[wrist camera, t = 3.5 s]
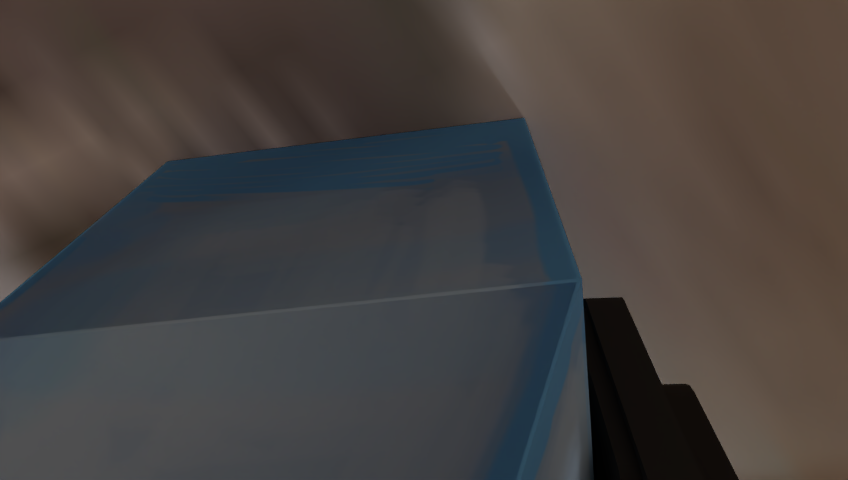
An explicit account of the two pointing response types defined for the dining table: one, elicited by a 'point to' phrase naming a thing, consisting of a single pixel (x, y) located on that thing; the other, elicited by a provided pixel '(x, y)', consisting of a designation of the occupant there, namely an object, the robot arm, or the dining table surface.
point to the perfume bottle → (309, 322)
